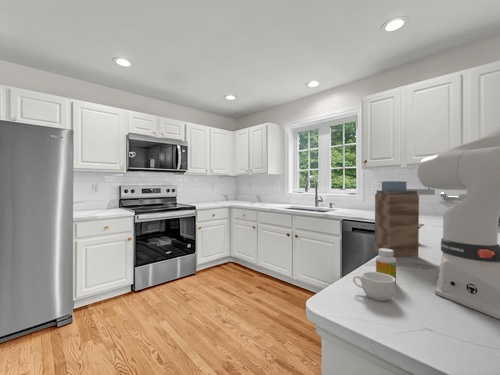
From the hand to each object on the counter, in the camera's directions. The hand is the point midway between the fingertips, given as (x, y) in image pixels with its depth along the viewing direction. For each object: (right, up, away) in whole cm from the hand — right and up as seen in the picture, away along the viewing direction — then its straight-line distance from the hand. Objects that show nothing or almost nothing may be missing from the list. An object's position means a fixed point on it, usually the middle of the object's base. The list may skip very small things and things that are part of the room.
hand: (450, 194), depth 111 cm
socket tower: (-27, -26, -3) cm, 37 cm away
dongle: (-20, 0, -2) cm, 20 cm away
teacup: (-58, -26, -46) cm, 78 cm away
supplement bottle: (-49, -26, -36) cm, 66 cm away
